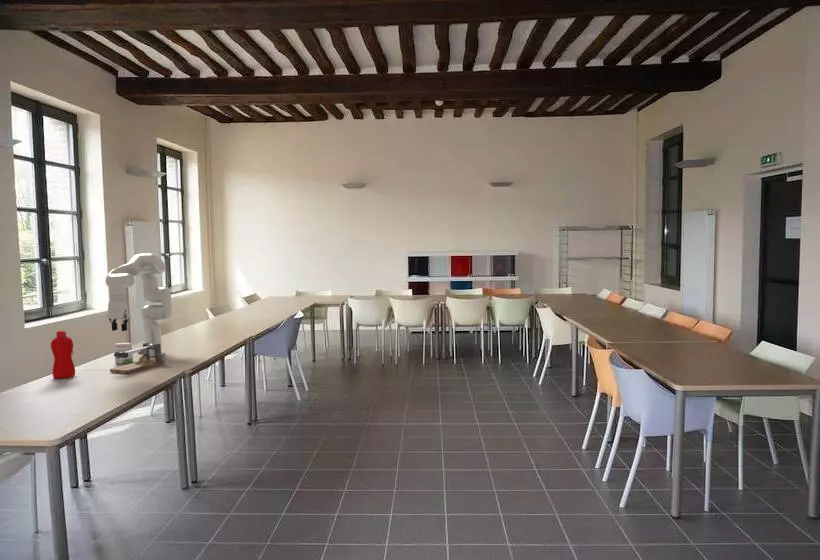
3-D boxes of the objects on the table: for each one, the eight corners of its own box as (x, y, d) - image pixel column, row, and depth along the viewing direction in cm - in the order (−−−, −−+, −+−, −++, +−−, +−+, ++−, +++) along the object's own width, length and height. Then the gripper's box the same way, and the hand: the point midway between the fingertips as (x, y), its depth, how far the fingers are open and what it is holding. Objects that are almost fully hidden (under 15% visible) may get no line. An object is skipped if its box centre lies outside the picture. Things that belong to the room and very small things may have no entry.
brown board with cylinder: (110, 372, 310) (108, 351, 309) (146, 362, 334) (145, 342, 333) (128, 374, 306) (127, 352, 305) (164, 363, 330) (162, 343, 329)
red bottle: (67, 379, 297) (64, 332, 294) (49, 378, 299) (46, 332, 297) (81, 375, 306) (78, 329, 303) (63, 374, 308) (60, 329, 306)
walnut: (137, 363, 322) (137, 356, 322) (143, 361, 326) (142, 355, 326) (143, 363, 321) (142, 357, 321) (148, 362, 325) (148, 355, 324)
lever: (149, 350, 332) (149, 343, 332) (158, 351, 330) (158, 343, 330) (114, 359, 309) (113, 352, 308) (124, 360, 306) (123, 352, 306)
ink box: (133, 361, 336) (132, 342, 335) (129, 363, 331) (128, 343, 330) (119, 362, 336) (117, 342, 335) (114, 364, 331) (113, 344, 330)
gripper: (99, 298, 305) (101, 331, 307) (124, 299, 300) (126, 332, 301) (111, 296, 313) (113, 328, 314) (135, 297, 307) (137, 330, 308)
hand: (119, 330), depth 308 cm, fingers open, 6 cm apart
